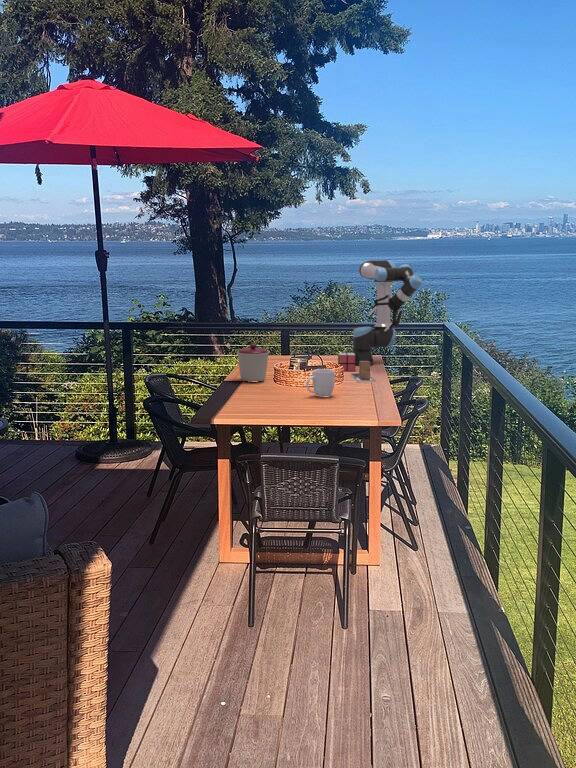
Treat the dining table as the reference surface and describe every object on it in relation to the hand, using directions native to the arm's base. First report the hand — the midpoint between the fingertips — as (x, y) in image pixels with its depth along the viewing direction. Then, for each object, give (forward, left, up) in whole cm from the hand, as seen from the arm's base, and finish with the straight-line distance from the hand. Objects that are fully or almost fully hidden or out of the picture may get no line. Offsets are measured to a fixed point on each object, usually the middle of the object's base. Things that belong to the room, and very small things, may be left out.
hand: (377, 322), depth 470 cm
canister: (+23, -76, -30) cm, 85 cm away
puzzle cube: (-7, -16, -30) cm, 35 cm away
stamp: (+28, -14, -29) cm, 43 cm away
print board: (+28, -14, -30) cm, 43 cm away
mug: (+70, -47, -30) cm, 89 cm away
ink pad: (+17, -14, -30) cm, 37 cm away
